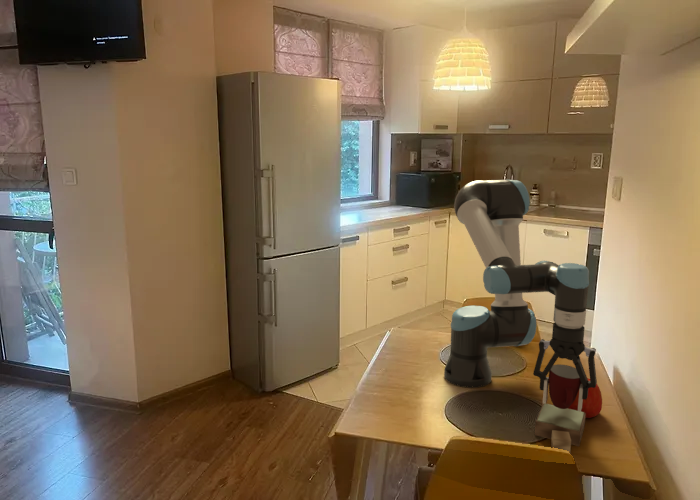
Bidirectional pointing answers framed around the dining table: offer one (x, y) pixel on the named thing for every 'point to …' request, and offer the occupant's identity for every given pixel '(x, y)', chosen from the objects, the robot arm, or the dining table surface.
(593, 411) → the apple
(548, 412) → the podium
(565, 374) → the mug
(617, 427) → the dining table surface
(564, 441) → the oak block
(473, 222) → the robot arm
